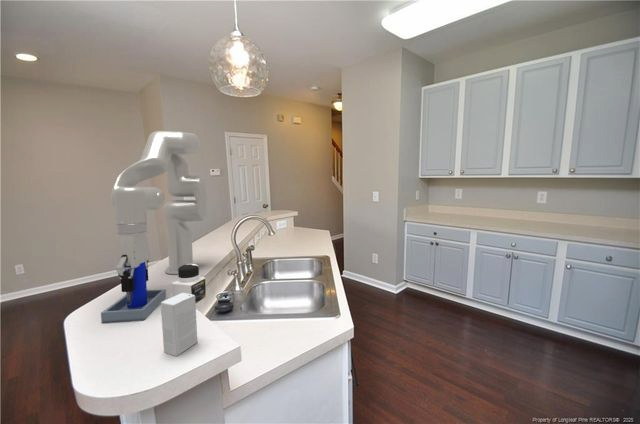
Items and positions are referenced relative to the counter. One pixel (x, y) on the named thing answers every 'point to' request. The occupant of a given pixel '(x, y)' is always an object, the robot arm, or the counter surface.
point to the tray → (123, 314)
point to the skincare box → (179, 323)
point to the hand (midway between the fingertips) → (135, 285)
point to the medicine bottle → (190, 282)
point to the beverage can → (138, 288)
